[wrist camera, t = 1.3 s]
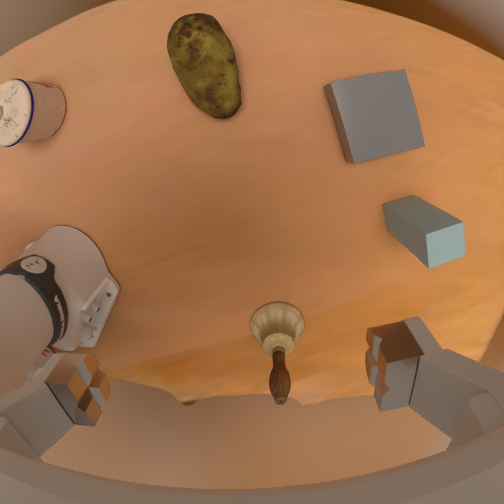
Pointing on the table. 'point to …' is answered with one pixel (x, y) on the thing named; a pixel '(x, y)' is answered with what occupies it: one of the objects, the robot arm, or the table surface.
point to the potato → (205, 64)
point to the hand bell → (278, 341)
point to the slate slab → (374, 115)
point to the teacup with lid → (29, 111)
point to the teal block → (425, 230)
